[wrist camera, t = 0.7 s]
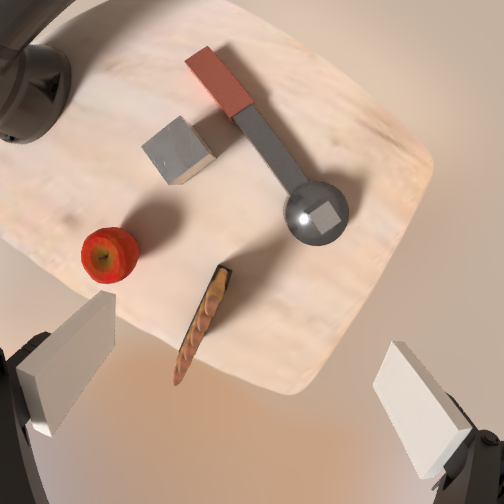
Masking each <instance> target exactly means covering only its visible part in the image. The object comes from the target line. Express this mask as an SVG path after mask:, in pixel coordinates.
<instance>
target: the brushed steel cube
mask: <svg viewBox="0 0 504 504" xmlns="http://www.w3.org/2000/svg"><path fill="white" fill-rule="evenodd" d="M142 148H143V150H144V151H145V153H146V154H147V155H148V157H149V158H150V160H151V161H152V162H153V164H154V165H155V167H156V168H157V169H158V171H159V172H160V174H161V175H162V176H163V178H164V179H165V181H166V182H167V183H168V185H180V184H184V183H185V182H186V181H187V180H189V179H190V178H191V177H193V176H194V175H195V174H197V173H198V172H199V171H201V170H202V169H203V168H204V167H206V166H207V165H209V164H210V163H211V162H213V161H214V160H215V159H217V158H216V157H215V156H214V154H213V153H212V152H211V150H210V149H209V148H208V146H207V145H206V144H205V142H204V141H203V140H202V138H201V137H200V136H199V134H198V133H197V132H196V130H195V129H194V128H193V126H192V125H191V124H190V123H188V122H187V121H186V120H185V119H184V118H183V117H182V116H179V117H178V118H176V119H175V120H174V121H172V122H171V123H170V124H169V125H167V126H166V127H165V128H163V129H162V130H161V131H160V132H158V133H157V134H156V135H155V136H154V137H152V138H151V139H150V140H149V141H147V142H146V143H145V144H144V145H143V146H142Z"/></svg>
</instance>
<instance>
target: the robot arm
mask: <svg viewBox="0 0 504 504" xmlns="http://www.w3.org/2000/svg"><path fill="white" fill-rule="evenodd" d="M74 1H75V0H0V139H2V140H4V141H5V142H8V143H14V144H27V143H30V142H33V141H35V140H37V139H38V138H40V137H41V136H42V135H44V134H45V133H46V132H47V131H48V130H49V129H50V127H51V126H52V125H53V124H54V122H55V121H56V120H57V118H58V116H59V115H60V113H61V111H62V109H63V107H64V105H65V102H66V100H67V97H68V93H69V89H70V83H71V69H70V65H69V62H68V60H67V58H66V56H65V55H64V54H63V53H62V52H60V51H59V50H57V49H55V48H53V47H51V46H48V45H29V43H30V42H31V41H32V40H33V39H34V38H35V37H36V36H37V35H38V34H39V33H40V32H41V31H42V30H43V29H44V28H45V27H46V26H47V25H48V24H49V23H50V22H52V21H53V20H54V19H55V18H56V17H57V16H58V15H59V14H60V13H61V12H62V11H64V10H65V9H66V8H67V7H68V6H69V5H71V4H72V3H73V2H74ZM115 306H116V294H113V293H109V292H105V291H100V292H99V293H98V294H97V295H95V296H94V297H93V298H92V299H91V300H89V301H88V302H87V303H86V304H85V305H84V306H83V307H81V308H80V309H79V310H78V311H77V312H76V313H75V314H73V315H72V316H71V317H70V318H69V319H68V320H67V321H65V322H64V323H63V324H62V325H61V326H60V327H59V328H58V329H57V330H56V331H54V332H53V333H52V334H51V333H48V332H43V333H40V334H38V335H35V336H34V337H33V338H32V339H30V340H29V341H28V342H27V344H25V345H24V346H23V347H22V348H21V349H19V350H18V351H17V352H16V353H15V354H14V355H13V356H11V357H10V358H9V359H8V360H7V361H5V356H4V353H3V350H2V349H1V348H0V504H49V502H48V500H47V497H46V494H45V491H44V488H43V485H42V482H41V479H40V476H39V473H38V470H37V466H36V463H35V460H34V456H33V452H32V448H31V444H30V440H29V436H28V431H27V428H26V426H25V424H26V423H27V422H28V420H29V419H30V418H31V421H32V424H33V427H34V429H35V430H37V431H39V432H41V433H43V434H46V435H48V436H50V437H53V435H54V434H55V432H56V430H57V429H58V427H59V426H60V424H61V423H62V421H63V420H64V418H65V417H66V415H67V414H68V412H69V411H70V409H71V408H72V406H73V405H74V403H75V402H76V400H77V399H78V397H79V396H80V394H81V393H82V392H83V390H84V389H85V387H86V386H87V384H88V383H89V382H90V380H91V379H92V377H93V376H94V374H95V373H96V371H97V370H98V369H99V367H100V366H101V364H102V363H103V362H104V360H105V359H106V357H107V356H108V355H109V353H110V352H111V351H112V349H113V348H114V346H115ZM373 388H374V389H375V391H376V393H377V395H378V397H379V399H380V401H381V403H382V404H383V407H384V408H385V410H386V412H387V414H388V416H389V418H390V420H391V422H392V424H393V426H394V428H395V429H396V431H397V434H398V435H399V437H400V439H401V441H402V443H403V445H404V447H405V449H406V451H407V453H408V455H409V457H410V460H411V461H412V463H413V466H414V468H415V470H416V471H417V474H418V476H419V478H420V480H422V479H426V478H431V477H435V476H436V475H437V473H438V472H439V471H440V470H441V469H442V468H443V467H444V469H445V471H446V473H445V474H444V475H443V476H442V477H441V479H440V480H439V481H438V482H437V483H436V484H435V485H434V487H433V488H432V490H434V489H435V488H436V487H438V486H439V488H438V490H437V494H436V497H435V500H434V503H433V504H504V441H500V440H499V438H498V437H497V436H496V435H495V434H494V433H492V432H490V431H488V430H480V431H479V430H478V429H477V428H476V426H475V425H474V424H473V422H472V421H471V420H470V418H469V417H468V416H467V415H466V413H465V412H463V409H462V408H461V407H459V404H458V403H457V402H456V401H455V399H454V398H453V397H452V396H450V395H449V394H448V393H446V392H445V391H444V390H443V389H442V388H441V386H440V385H439V384H438V383H437V381H436V380H435V379H434V377H433V376H432V375H431V374H430V373H429V372H428V370H427V369H426V368H425V366H424V365H423V364H422V363H421V362H420V360H419V359H418V358H417V357H416V355H415V354H414V353H413V352H412V351H411V350H410V348H409V347H408V346H407V345H406V344H405V342H399V341H392V342H391V344H390V347H389V349H388V351H387V354H386V356H385V359H384V361H383V363H382V365H381V368H380V370H379V372H378V375H377V377H376V379H375V381H374V383H373Z"/></svg>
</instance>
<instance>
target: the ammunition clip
mask: <svg viewBox="0 0 504 504" xmlns="http://www.w3.org/2000/svg"><path fill="white" fill-rule="evenodd" d="M231 272H232V270H229V269H227V268H225V267H223V266H221V265H218V266H217V268H216V270H215V272H214V274H213V276H212V279H211V281H210V283H209V285H208V287H207V289H206V292H205V294H204V296H203V298H202V300H201V302H200V305H199V307H198V309H197V311H196V313H195V316H194V318H193V320H192V322H191V324H190V327H189V329H188V331H187V333H186V336H185V338H184V340H183V342H182V345H181V347H180V349H179V355H178V357H177V360H176V366H175V370H174V373H173V385H174V386H177V385H178V384H179V383H180V382H181V381H182V379H183V377H184V375H185V373H186V371H187V369H188V368H189V366H190V364H191V361H192V359H193V357H194V355H195V354H196V352H197V349H198V347H199V345H200V343H201V341H202V339H203V336H204V334H205V332H206V330H207V329H208V327H209V324H210V322H211V320H212V318H213V316H214V314H215V312H216V309H217V307H218V305H219V303H220V301H221V300H222V298H223V295H224V293H225V291H226V289H227V287H228V283H229V280H230V276H231Z"/></svg>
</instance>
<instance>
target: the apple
mask: <svg viewBox="0 0 504 504" xmlns="http://www.w3.org/2000/svg"><path fill="white" fill-rule="evenodd" d="M138 258H139V246H138V244H137V241H136V240H135V239H134V238H133V236H132V235H131V234H129V233H128V232H126V231H125V230H123V229H121V228H117V227H110V228H102V229H99V230H97V231H95V232H94V233H92V234H91V235H89V236H88V237H87V238H86V240H85V241H84V244H83V247H82V251H81V260H82V264H83V266H84V269H85V270H86V271H87V273H88V274H89V275H90V276H91V278H92V279H93V280H95V281H97V282H98V283H103V284H111V283H116V282H118V281H121V280H123V279H124V278H126V277H127V276H128V275H129V274H130V273H131V272H132V270H133V269H134V267H135V266H136V263H137V261H138Z"/></svg>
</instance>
